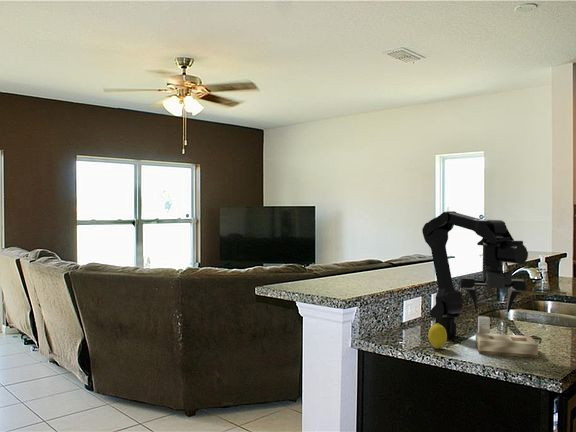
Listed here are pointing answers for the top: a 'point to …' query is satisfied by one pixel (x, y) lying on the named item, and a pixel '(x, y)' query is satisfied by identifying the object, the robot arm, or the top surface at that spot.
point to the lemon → (437, 335)
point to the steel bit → (483, 324)
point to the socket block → (506, 345)
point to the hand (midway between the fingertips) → (491, 311)
